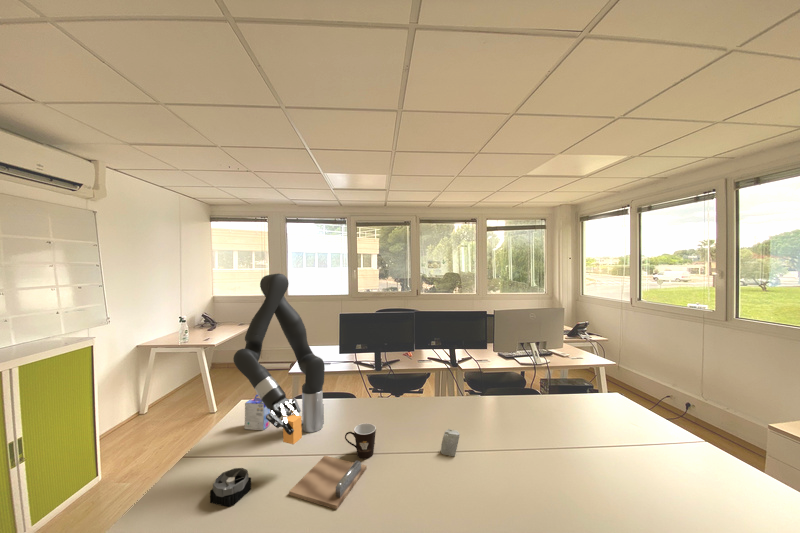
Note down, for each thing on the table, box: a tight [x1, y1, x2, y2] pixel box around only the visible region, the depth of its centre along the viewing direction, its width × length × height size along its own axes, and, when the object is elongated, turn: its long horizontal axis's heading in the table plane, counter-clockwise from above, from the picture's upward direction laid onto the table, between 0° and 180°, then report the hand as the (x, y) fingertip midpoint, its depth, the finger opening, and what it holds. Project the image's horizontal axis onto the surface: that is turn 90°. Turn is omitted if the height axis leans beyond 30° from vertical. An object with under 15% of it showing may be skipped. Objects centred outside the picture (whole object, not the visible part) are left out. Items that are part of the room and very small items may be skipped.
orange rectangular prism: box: [282, 413, 303, 445], centre depth 110 cm, size 4×4×8 cm
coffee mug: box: [344, 422, 377, 460], centre depth 120 cm, size 12×9×10 cm
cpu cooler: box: [209, 467, 252, 508], centre depth 98 cm, size 10×6×10 cm
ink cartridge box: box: [244, 394, 271, 431], centre depth 141 cm, size 10×6×14 cm, turn 83°
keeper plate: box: [288, 455, 368, 510], centre depth 104 cm, size 20×18×5 cm
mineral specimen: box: [440, 428, 461, 457], centre depth 120 cm, size 7×9×8 cm
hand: (296, 429), depth 109 cm, fingers closed on orange rectangular prism, 4 cm apart
